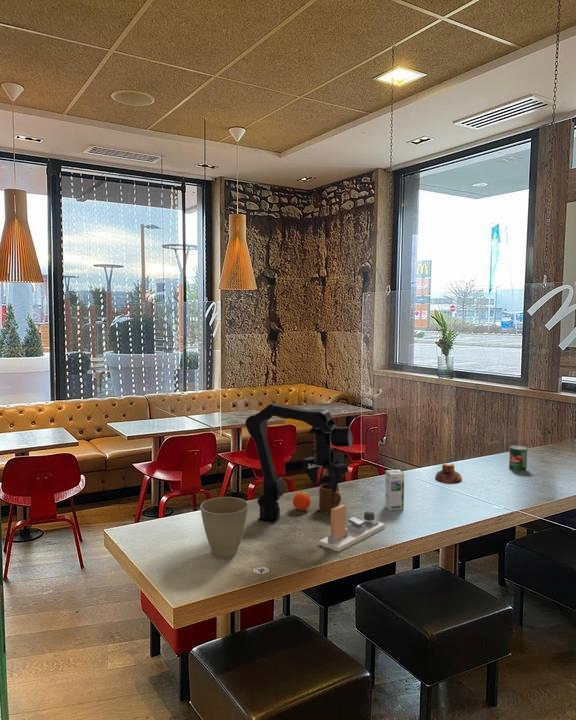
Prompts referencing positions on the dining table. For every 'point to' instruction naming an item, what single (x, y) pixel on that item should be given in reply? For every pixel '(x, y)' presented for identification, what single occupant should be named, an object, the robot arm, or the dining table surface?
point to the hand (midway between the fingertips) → (325, 489)
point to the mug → (328, 498)
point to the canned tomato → (518, 458)
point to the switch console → (352, 535)
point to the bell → (448, 474)
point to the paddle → (338, 521)
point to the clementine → (301, 501)
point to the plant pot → (224, 524)
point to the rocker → (356, 522)
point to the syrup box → (394, 489)
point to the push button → (369, 516)
